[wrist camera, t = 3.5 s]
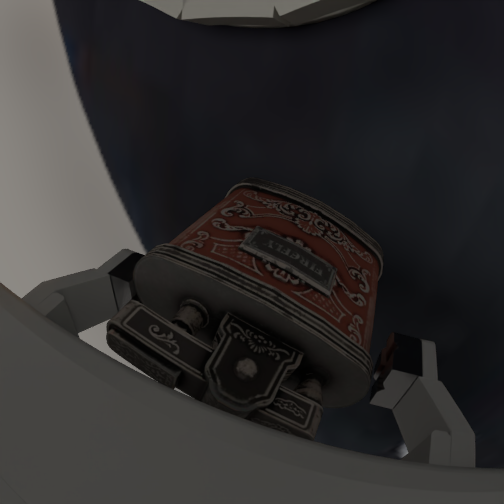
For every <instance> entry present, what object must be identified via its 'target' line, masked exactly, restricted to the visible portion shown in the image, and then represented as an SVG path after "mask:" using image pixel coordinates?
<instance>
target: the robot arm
mask: <svg viewBox="0 0 504 504" xmlns="http://www.w3.org/2000/svg"><path fill="white" fill-rule="evenodd" d="M144 256H145V255H142V254H139V253H137V252H134V251H131V250H129V249H122V250H121V251H120V252H119V253H117V254H116V255H115V256H113V257H112V258H111V259H109V260H108V261H107V262H105V263H104V264H103V265H102V266H100V267H99V268H98V269H89V270H86V271H82V272H78V273H74V274H70V275H67V276H63V277H59V278H56V279H52V280H49V281H45V282H42V283H40V284H39V285H38V286H37V287H35V288H34V289H33V290H32V291H30V292H29V293H28V294H27V295H25V296H24V297H23V298H22V299H21V298H20V297H18V296H17V295H16V294H14V293H13V292H12V291H10V290H9V289H8V288H7V287H5V286H4V285H3V284H2V283H0V504H504V468H475V434H474V432H473V430H472V429H471V427H470V425H469V424H468V422H467V420H466V419H465V417H464V416H463V414H462V412H461V411H460V409H459V408H458V406H457V405H456V403H455V401H454V400H453V398H452V397H451V395H450V394H449V392H448V391H447V389H446V388H445V386H444V384H443V383H442V382H441V381H438V375H437V359H436V347H435V343H434V342H432V341H428V340H424V339H418V338H414V337H410V336H406V335H403V334H399V333H395V332H392V333H391V334H390V336H389V337H388V339H387V346H386V348H384V349H382V351H381V353H380V354H379V356H378V359H377V362H376V365H375V369H374V375H373V377H374V378H375V380H376V381H375V383H374V384H373V386H372V389H371V396H370V404H373V405H377V406H381V407H385V408H389V409H393V410H392V411H393V414H394V416H395V419H396V421H397V424H398V426H399V429H400V431H401V434H402V436H403V439H404V442H405V444H406V447H407V450H408V452H409V453H408V454H407V455H406V456H404V457H403V458H402V459H401V460H398V459H392V458H386V457H380V456H375V455H370V454H365V453H360V452H356V451H351V450H347V449H342V448H338V447H334V446H330V445H326V444H323V443H319V442H315V441H311V440H308V439H304V438H301V437H297V436H294V435H291V434H288V433H284V432H281V431H278V430H275V429H272V428H269V427H266V426H263V425H260V424H257V423H254V422H252V421H249V420H246V419H243V418H241V417H238V416H235V415H233V414H230V413H227V412H225V411H222V410H220V409H217V408H215V407H212V406H210V405H208V404H205V403H203V402H200V401H198V400H196V399H194V398H191V397H189V396H187V395H185V394H182V393H180V392H178V391H176V390H174V389H171V388H169V387H167V386H165V385H163V384H161V383H159V382H157V381H155V380H153V379H151V378H149V377H147V376H145V375H143V374H141V373H139V372H137V371H135V370H133V369H131V368H130V367H128V366H126V365H124V364H122V363H120V362H118V361H117V360H115V359H113V358H111V357H110V356H108V355H106V354H104V353H103V352H101V351H99V350H97V349H96V348H94V347H92V346H91V345H89V344H87V343H85V342H84V341H82V340H81V339H80V338H79V336H78V333H79V332H82V331H84V330H86V329H88V328H91V327H93V326H95V325H97V324H100V323H102V322H104V321H106V320H109V319H111V318H112V317H113V316H115V315H116V314H117V313H118V312H119V311H120V310H121V309H122V308H123V307H124V306H125V305H126V304H127V303H128V302H129V301H131V300H135V301H138V302H139V303H141V304H143V303H142V302H141V300H140V299H139V297H138V295H137V292H136V290H135V285H134V280H133V272H134V268H135V265H136V263H137V262H138V261H139V260H140V259H141V258H142V257H144Z"/></svg>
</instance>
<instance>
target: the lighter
mask: <svg viewBox="0 0 504 504" xmlns="http://www.w3.org/2000/svg"><path fill="white" fill-rule="evenodd" d="M382 269H383V252H382V248H381V247H380V246H379V244H378V243H377V242H376V241H375V240H374V239H373V238H372V237H370V236H369V235H368V234H367V233H366V232H364V231H363V230H362V229H361V228H360V227H358V226H357V225H356V224H355V223H354V222H352V221H351V220H350V219H348V218H346V217H345V216H343V215H342V214H340V213H339V212H337V211H335V210H334V209H332V208H331V207H329V206H328V205H326V204H324V203H323V202H321V201H319V200H316V199H314V198H312V197H310V196H308V195H305V194H303V193H301V192H298V191H296V190H294V189H292V188H289V187H286V186H283V185H279V184H276V183H273V182H269V181H266V180H263V179H259V178H247V179H244V180H242V181H240V182H239V183H238V184H236V185H235V186H234V187H233V188H232V189H230V190H229V191H228V193H227V195H226V197H225V199H223V200H222V201H221V202H220V203H218V204H217V205H216V206H214V207H213V208H212V209H211V210H209V211H208V212H207V213H206V214H204V215H203V216H202V217H201V218H199V219H198V220H197V221H196V222H194V223H193V224H192V225H191V226H189V227H188V228H187V229H186V230H184V231H183V232H182V233H181V234H179V235H178V236H177V237H176V238H175V239H173V240H172V241H171V242H170V243H169V244H166V243H165V244H162V245H158V246H156V247H155V248H153V249H152V250H151V251H150V252H148V253H147V254H146V255H145V256H144V257H142V258H141V259H140V260H139V261H138V262H137V263H136V265H135V268H134V272H133V280H134V285H135V290H136V292H137V295H138V297H139V299H140V300H141V302H142V303H143V304H141V303H139V302H138V301H135V300H131V301H129V302H128V303H127V304H126V305H125V306H124V307H123V308H122V309H121V310H120V311H119V312H118V313H117V314H116V315H115V316H113V317H112V318H111V319H110V320H109V321H108V323H107V335H106V339H107V344H108V346H109V347H110V348H111V349H112V350H113V351H114V352H116V353H117V354H118V355H120V356H121V357H122V358H124V359H125V360H127V361H128V362H130V363H131V364H132V365H134V366H135V367H137V368H138V369H139V370H141V371H143V372H144V373H145V374H147V375H148V376H150V377H151V378H153V379H154V380H156V381H157V382H159V383H161V384H163V385H165V386H167V387H169V388H171V389H174V388H175V387H176V388H178V389H179V390H181V391H182V392H184V393H186V394H188V395H189V396H191V397H193V398H194V399H196V400H198V401H200V402H203V403H205V404H208V405H210V406H212V407H215V408H217V409H220V410H222V411H225V412H227V413H230V414H233V415H235V416H238V417H241V418H243V419H246V420H249V421H252V422H254V423H257V424H260V425H263V426H266V427H269V428H272V429H275V430H278V431H281V432H284V433H288V434H291V435H294V436H297V437H301V438H304V439H308V440H311V441H314V438H315V435H316V432H317V429H318V426H319V423H320V420H321V417H322V413H323V408H322V407H325V408H342V407H346V406H350V405H353V404H355V403H357V402H358V401H360V400H362V398H363V397H364V396H365V395H366V394H367V393H368V390H369V386H370V382H371V376H372V369H373V363H372V359H371V356H370V355H369V352H370V345H371V338H372V330H373V323H374V314H375V305H376V296H377V285H378V280H379V278H380V276H381V275H382Z"/></svg>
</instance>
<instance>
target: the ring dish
mask: <svg viewBox="0 0 504 504" xmlns="http://www.w3.org/2000/svg"><path fill="white" fill-rule="evenodd" d="M141 1H143V2H145V3H147V4H149V5H151V6H153V7H155V8H157V9H159V10H161V11H163V12H165V13H167V14H169V15H171V16H172V17H174V18H176V19H181V20H186V21H191V22H195V23H200V24H204V25H230V26H235V27H246V28H283V27H293V26H301V25H306V24H312V23H317V22H322V21H325V20H329V19H332V18H336V17H340V16H342V15H345V14H348V13H350V12H353V11H356V10H358V9H361V8H363V7H365V6H367V5H369V4H371V3H373V2H375V1H377V0H141Z"/></svg>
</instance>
